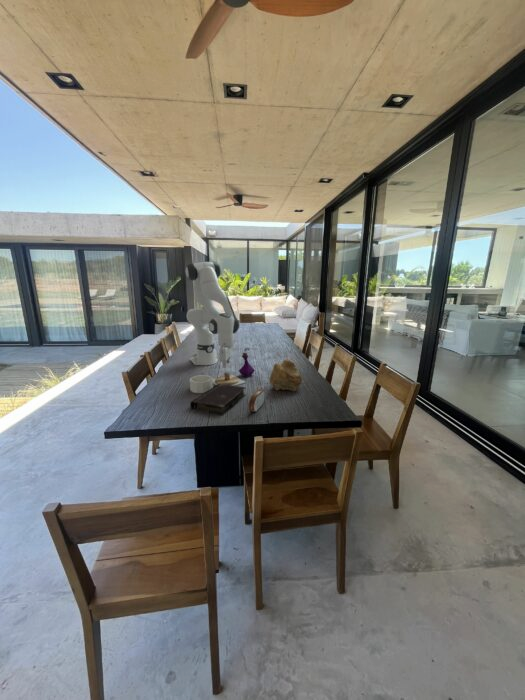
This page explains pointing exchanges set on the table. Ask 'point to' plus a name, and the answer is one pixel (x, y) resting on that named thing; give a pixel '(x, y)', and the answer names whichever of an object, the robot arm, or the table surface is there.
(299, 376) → the rough brown rock
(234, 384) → the trivet
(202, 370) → the table surface
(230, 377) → the lid
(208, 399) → the diary
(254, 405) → the tin
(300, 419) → the table surface
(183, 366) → the table surface
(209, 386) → the bowl
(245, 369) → the perfume bottle
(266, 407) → the table surface
